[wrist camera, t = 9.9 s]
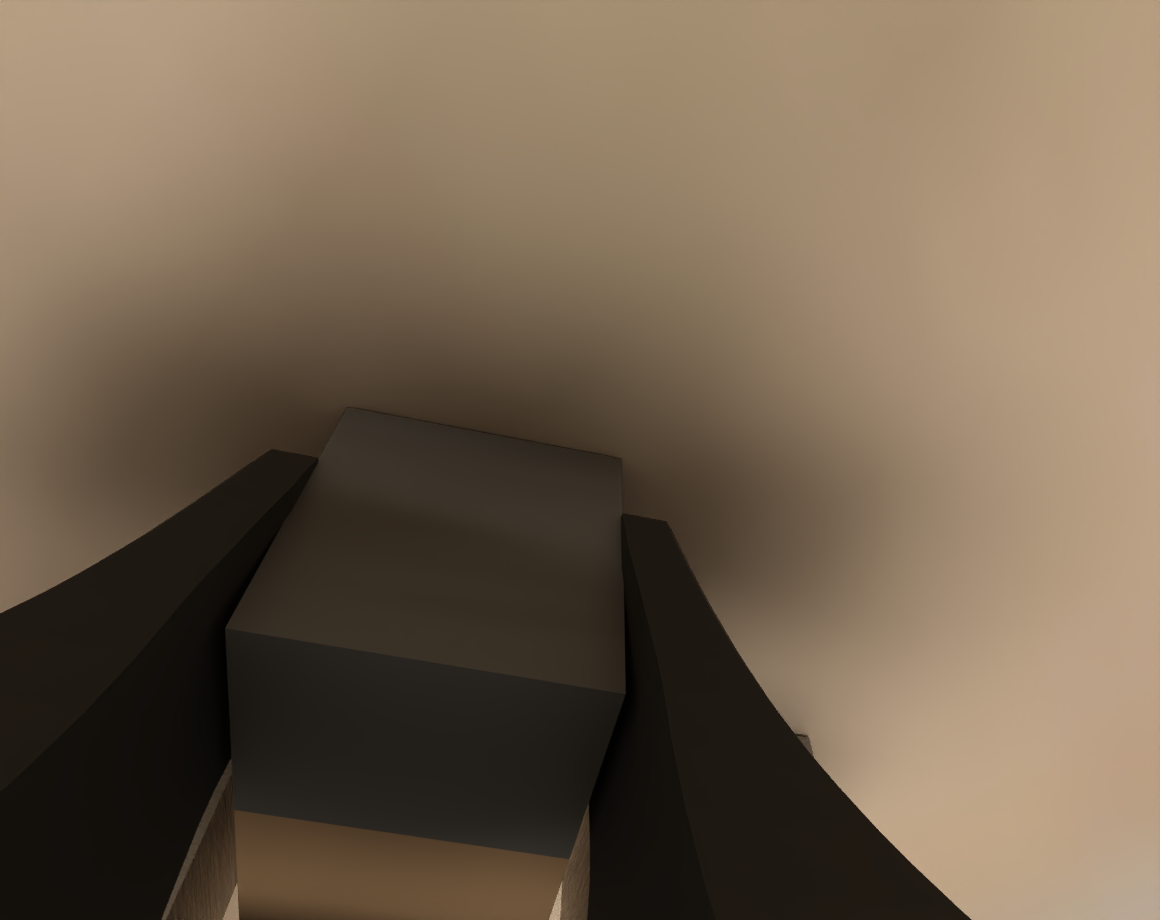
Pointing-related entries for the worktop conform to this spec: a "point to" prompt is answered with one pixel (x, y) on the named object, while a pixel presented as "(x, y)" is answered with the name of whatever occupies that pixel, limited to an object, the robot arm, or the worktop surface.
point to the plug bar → (426, 677)
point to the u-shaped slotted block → (215, 866)
